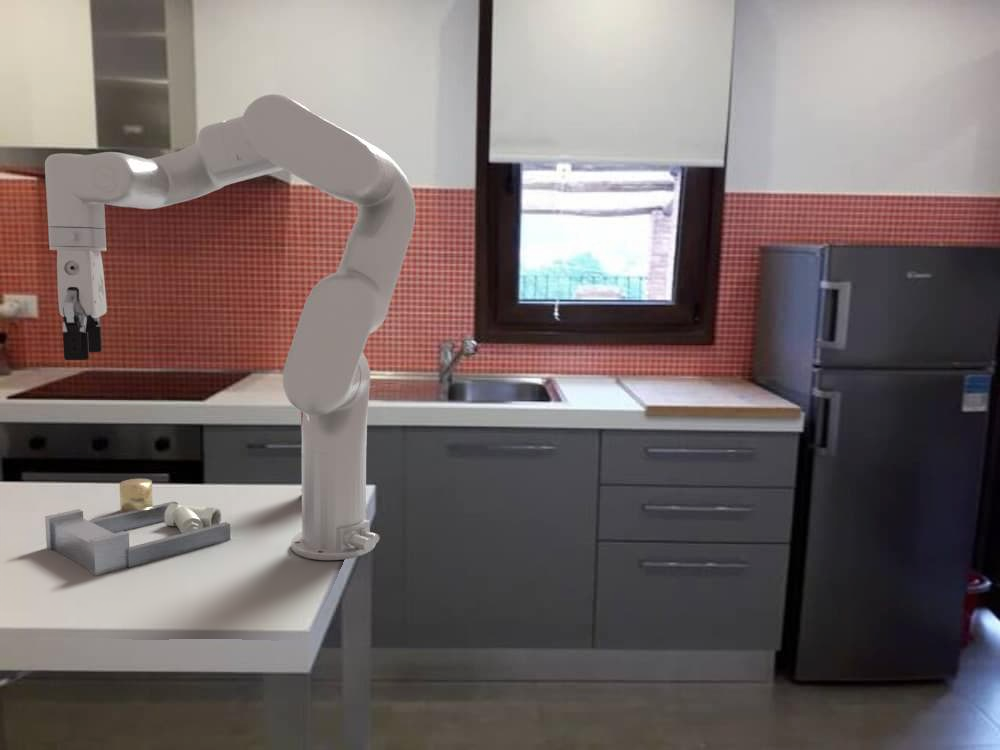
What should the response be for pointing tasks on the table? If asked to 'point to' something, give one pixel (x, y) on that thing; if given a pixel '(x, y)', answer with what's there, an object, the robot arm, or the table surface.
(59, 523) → the pipe jig
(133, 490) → the cylinder
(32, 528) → the table surface
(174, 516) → the pipe fitting
